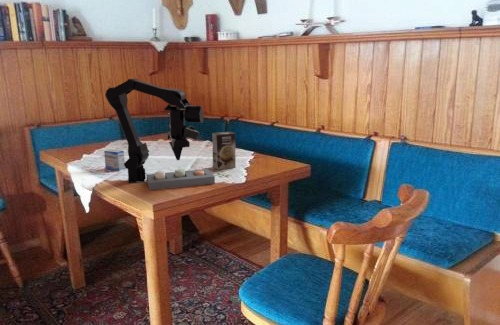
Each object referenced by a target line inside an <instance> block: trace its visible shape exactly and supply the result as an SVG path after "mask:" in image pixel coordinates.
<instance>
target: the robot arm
mask: <svg viewBox="0 0 500 325" xmlns="http://www.w3.org/2000/svg"><path fill="white" fill-rule="evenodd" d="M133 91H137V92H140V93H143V94H147V95H150V96H152V97H156V98H159V99H161V100H162V101H163V102H165V103H167V105H166V107H164V109H163V110H164V111H169V123H168V127H169V131H168V132H167V133H166V139H167V140H170V141H168V143H169V145H170V148H171V150H172V152H173V155H174V157H175V159H176V161H180V160H181V155H182V151H183V148H190V147H191V146H190V141H189V140H188V139H187V138H190V139H193V140H195V141H197V140H198V138H199V134H200V131H198V130H196V129H195V127H194V126H192V125H189V126H188V127H187V125H186V124H185V122H187V123H190V124H191V123H193V124H203V122H204V118H205V113H204V109H203V105H192V104H191V103H190V101H189V100H188V98H187V97H186V94H185V91H184V90H182V89H180V88H170V87H169V88H168V87H163V86H158V85H155V84H151V83H149V82H146V81H143V80H139V79H137V78H135V77H134V78H128V79H127V80H126V81H124V82H121V83H120V84H119V85H117V86H113V87H108V89H106V92H105V93H104V94H105V98H106V101H108V104H109V105H110V106H111V107H112V109H113V110H114V111H115V113H116V115H117V118H118V120H119V123H120V125H121V129H122V132H123V133H124V137H125V139H126V141H127V142H126V143H127V144H128V145H127V154H128V159H127V160H126V161H125V163H124V166H125V169H126V170H127V174H128V175H127V180H128V181H127V182H128V184H130V183H131V184H133V183H142V182H146V180H147V176H146V169H145V167H144V165H145V164H146V161H147V160H148V159H149V156H150V155H149V154H150V150H149V148H148V145H147V142H144V143H143V142H142V141H141V140H140V138H139V136H138V132H137V130H136V127H135V125H134V121H133V118H132V116H131V114H130V111H129V108H128V101H129V100H128V95H129V94H131V93H132V92H133Z"/></svg>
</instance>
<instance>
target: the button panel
mask: <svg viewBox="0 0 500 325" xmlns="http://www.w3.org/2000/svg"><path fill="white" fill-rule="evenodd" d="M195 171H204V175H199V176H195ZM145 176H146V184H147V187H148V189H149V191H155V190H164V189H165V190H166V189H176V188H183V187H184V188H185V187H195V186H201V185H202V186H203V185H204V186H206V185H214V184H215V183H216V181H215V180H216V179H215V177H216V176H215V175H214V174H213V173H212V171H210V169H209V168H205V169H203V168H202V169H192V170H185V177H178V178H175V171H170V172H165V179H157V180H155V173H149V174H145Z"/></svg>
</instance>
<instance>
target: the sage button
mask: <svg viewBox="0 0 500 325" xmlns="http://www.w3.org/2000/svg"><path fill="white" fill-rule="evenodd" d="M185 171H186V170H185V169H176V170H174V172H175V178H178V177H185Z"/></svg>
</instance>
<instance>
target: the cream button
mask: <svg viewBox="0 0 500 325" xmlns="http://www.w3.org/2000/svg"><path fill="white" fill-rule="evenodd" d="M165 173H166V172H165V171H161V170H158V171H155V172H154V174H155V180H157V179H165Z"/></svg>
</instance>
